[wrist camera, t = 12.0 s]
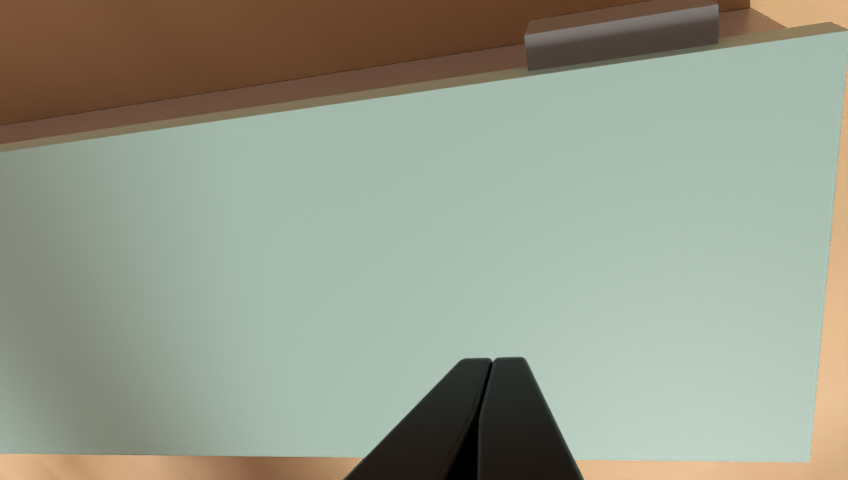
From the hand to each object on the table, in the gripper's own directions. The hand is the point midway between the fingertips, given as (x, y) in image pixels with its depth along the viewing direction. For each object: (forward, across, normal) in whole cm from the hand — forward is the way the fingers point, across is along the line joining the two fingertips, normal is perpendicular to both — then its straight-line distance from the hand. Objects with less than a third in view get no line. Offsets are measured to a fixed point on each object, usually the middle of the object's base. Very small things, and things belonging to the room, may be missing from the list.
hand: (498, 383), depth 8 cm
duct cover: (+6, +6, +1) cm, 9 cm away
